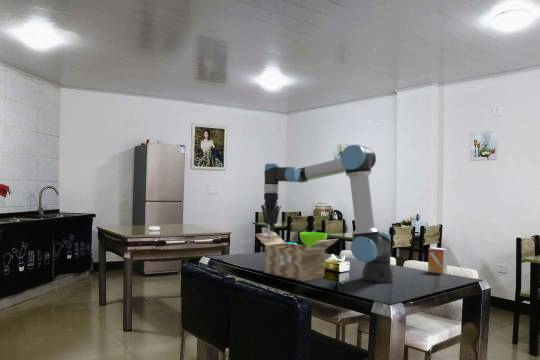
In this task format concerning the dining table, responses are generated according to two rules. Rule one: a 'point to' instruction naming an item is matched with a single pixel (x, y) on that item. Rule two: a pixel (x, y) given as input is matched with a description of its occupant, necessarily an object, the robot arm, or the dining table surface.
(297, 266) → the carton
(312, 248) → the near flap
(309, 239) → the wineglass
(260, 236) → the far flap
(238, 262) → the dining table surface
